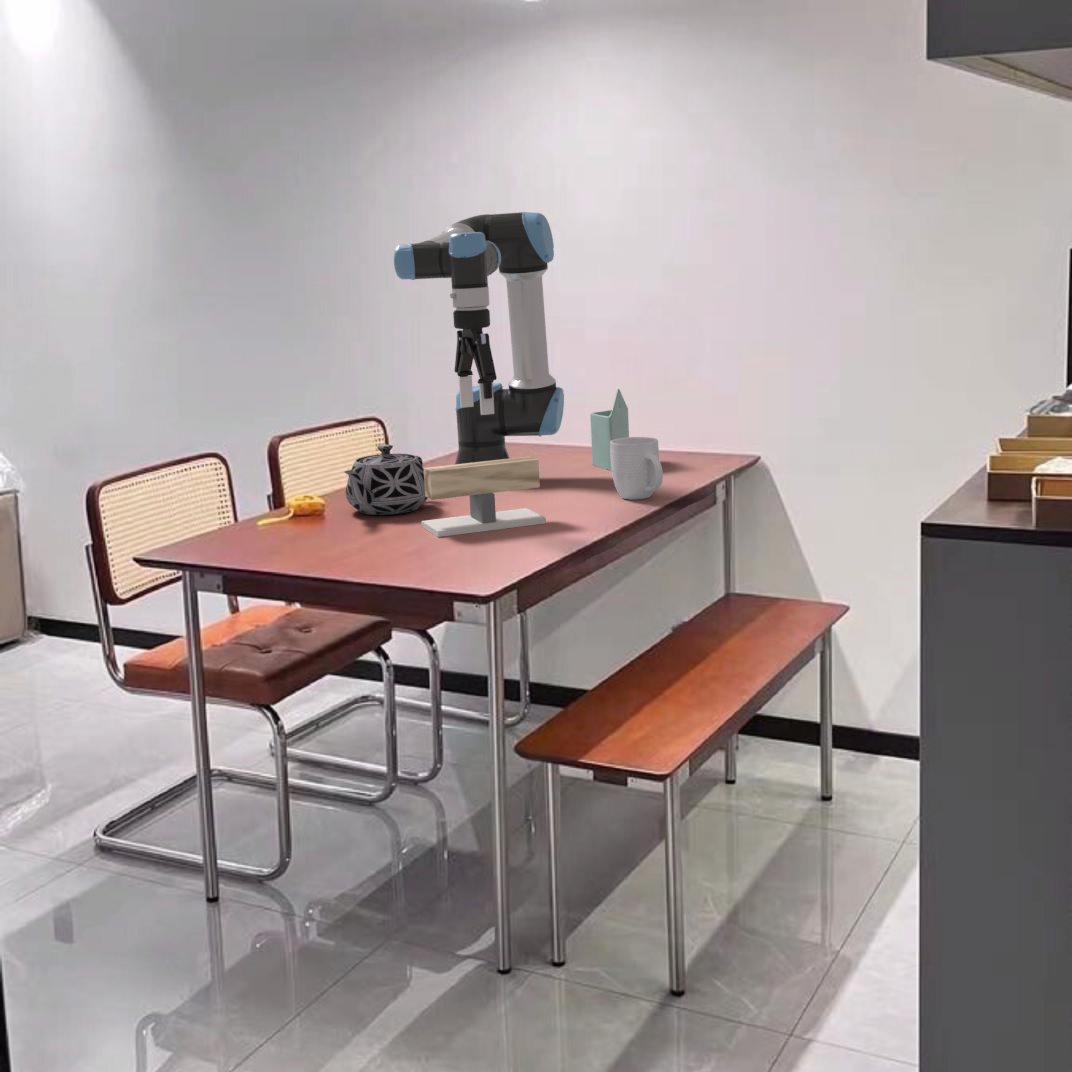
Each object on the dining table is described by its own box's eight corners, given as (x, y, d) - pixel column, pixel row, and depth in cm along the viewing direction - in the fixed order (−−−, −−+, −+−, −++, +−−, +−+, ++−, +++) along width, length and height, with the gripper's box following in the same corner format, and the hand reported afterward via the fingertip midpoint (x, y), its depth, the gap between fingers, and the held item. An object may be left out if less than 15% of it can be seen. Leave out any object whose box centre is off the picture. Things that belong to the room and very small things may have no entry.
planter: (601, 459, 388) (598, 384, 384) (630, 459, 385) (627, 384, 381) (583, 470, 373) (580, 393, 368) (613, 471, 370) (610, 392, 366)
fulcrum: (421, 526, 316) (419, 493, 314) (526, 513, 324) (524, 481, 322) (438, 537, 305) (435, 502, 303) (546, 523, 313) (544, 490, 311)
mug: (680, 499, 331) (679, 441, 329) (641, 506, 326) (639, 447, 323) (640, 490, 344) (638, 435, 341) (602, 497, 338) (599, 441, 335)
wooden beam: (425, 496, 311) (423, 468, 310) (531, 483, 319) (530, 456, 318) (432, 499, 307) (430, 471, 305) (539, 487, 315) (538, 459, 314)
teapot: (313, 523, 326) (307, 456, 322) (388, 496, 352) (383, 434, 349) (385, 527, 317) (380, 458, 314) (457, 499, 344) (453, 436, 340)
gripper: (436, 307, 315) (442, 405, 319) (472, 312, 292) (479, 419, 297) (469, 304, 317) (475, 402, 322) (508, 310, 294) (514, 415, 299)
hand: (477, 410), depth 309 cm, fingers open, 13 cm apart
